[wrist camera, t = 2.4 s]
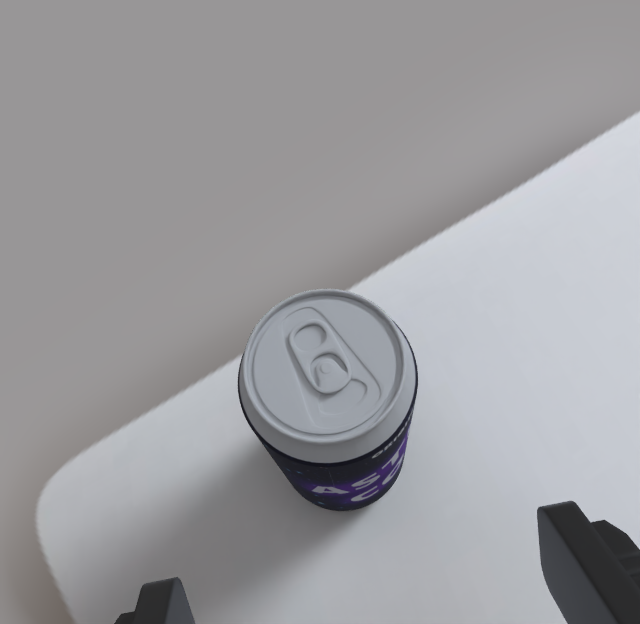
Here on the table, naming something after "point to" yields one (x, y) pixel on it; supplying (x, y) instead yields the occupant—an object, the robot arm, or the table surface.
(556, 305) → the table surface
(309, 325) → the beverage can
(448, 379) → the table surface
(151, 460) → the table surface
